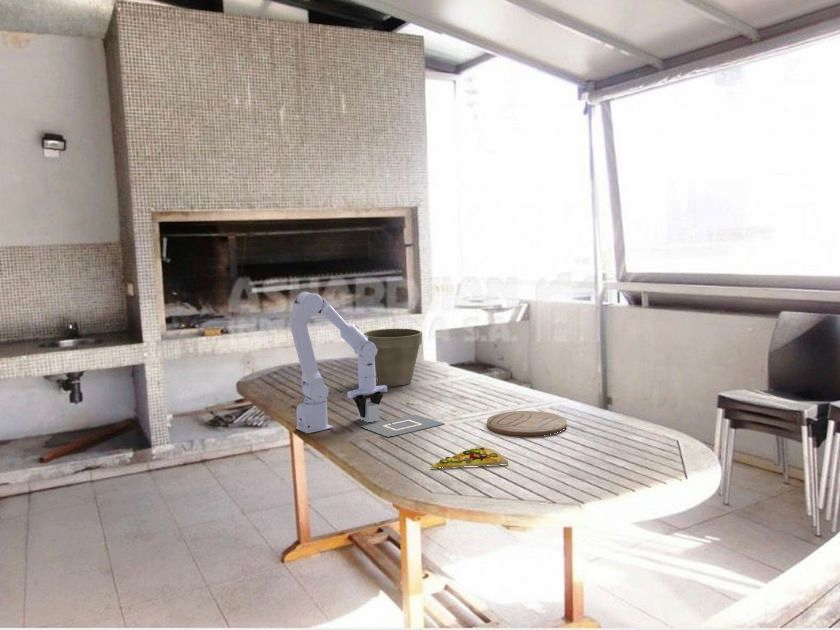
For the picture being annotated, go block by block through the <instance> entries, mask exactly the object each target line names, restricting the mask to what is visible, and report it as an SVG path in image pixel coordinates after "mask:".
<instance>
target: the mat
mask: <svg viewBox="0 0 840 630" xmlns="http://www.w3.org/2000/svg"><path fill="white" fill-rule="evenodd" d="M391 420H393V421H391ZM390 421H391V423H392V424H393V425H392V426H390V425H391V423H390ZM444 425H445V423H444V422H441V421H438V420H434V419H432V418H429V417H425V416H422V415H419V414H411V415H407V416H402V417H397V418H393V419H388V420H384V421H377V422H373V423H368V424H365V425H362V426H360V428H361V427H363V428H365V429H364V430H366V427H367V429H368V430H367V431H369V430H371V431H373V432H372V433H374V432H376V433H378V434H377V435H379V434H381V435H380V436H382V435H385V436H387V435H388V436H390V435H389V434H391V435H393V436H394V437H397V436H396V435H398V436H402V434H403V435H406V433H407V434H410V433H414V431H415V432H418V431H423V430H427V429H431V428H436V427H439V426H444ZM391 427H393V428H391ZM363 428H362V429H363ZM372 428H373V429H372ZM390 428H391V429H392V430H393V431H391V430H390ZM387 429H388V430H387ZM384 430H385V431H384ZM371 431H370V432H371ZM389 431H391V433H390V432H389ZM376 433H375V434H376ZM388 436H387V437H388ZM387 437H386V438H387Z"/></svg>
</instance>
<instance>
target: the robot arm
mask: <svg viewBox="0 0 840 630" xmlns="http://www.w3.org/2000/svg"><path fill="white" fill-rule="evenodd" d="M317 314H319V315H322V316H324V317H325V318H326V319H327V320H328V321H329V322H330V323H331V324H333V325H334V326H335V327H336V328H337V329H338V330H339V331H340V332H339V333H340V335H339V336H340V338H342V339H343V340H344V341H345V342H346V343H347V344H348V345H349V346H350V348H352V349H353V352H354V353H355V354H356V355H357V371H358V372H357V373H358V375H357V377H358V388H356V389H353V390H350V391H347V392H346V393H347V394H346V395H347V398H348V399H352V400H353V401H354V403H355V405H356V407H357V411H358V410H359V413H360V417H363V418H364V417H365V414H366V413H365V405H366V401H368V400H367V398H366V397H365V395H369V396H368V397H369V399H370V400H369V401H370V402H372V403H375V404H378V405H379V406H380V403H381V401H382V399H383V396H384V394H383V393H387V392H388V386H385V385H379V386H376V375H375V356H376V354H377V351H378V349H377V348H376V345H375V344H374V343H373V342H371V341H368V336H366V335H364V333H363V332H362V331H361V330H360V327H359V326H358V325H357V324H354V323H348V322H347V321H346V320H344V318H343V317H342V316H341V315H340V314H339V313H338V311H336V309H335V308H334V307H333V305H331V304H330V303H329V302H328V301H327V300H326V299H325V298H322V296H321V295H320V294H318V293H317V292H309V291H301V292H300V293H298V295H297V296H296V297H295V298H294V300H293V301H292V308H291V312H290V315H289V319H288V322H289V327H290V332H291V334H292V335H291V336H292V338H293V341H294V347H295V350H296V355H297V358H298V362H299V365H300V370H301V373H302V374H301V392H302V394H303V396H304V398H303V399H304V400H303V402H302V403H300V404H297V406H296V414H295V415H296V430H299V431H301V432H303V433H305V434H311V433H315V432H320V431H325V430H330V429H333V428H334V426H333V425H331V424H328V423H329V421H328V420H329V419H328V401H327V400H328V399H327V398H328V396H329V393H330V391H329V387H328V386H327V385H326V384H325V382H324V379H323V377H322V375H321V373H320V371H319V367H318V365H317V364H318V363H317V360H316V357H315V351H314V349H313V345H312V341H311V337H310V333H309V329H308V325H307V324H308V323H309V322H310V320H311V319H312V318H313V316H315V315H317Z"/></svg>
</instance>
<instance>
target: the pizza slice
mask: <svg viewBox="0 0 840 630" xmlns="http://www.w3.org/2000/svg"><path fill="white" fill-rule="evenodd" d="M508 463H509V460H508V459H507V458H506V457H505V456H504V455H503V454H502V453H500V452H499V451H497V450H495V449H493V448H489V447H486V446H481V445H479V446H476V447H475V448H470V449H467V450H463V451H461V452H459V453H457V454H455V455H453V456H451V457H450V456H446V457H445V458H440V460H439V461H438V462H436V463H435V464H434V465H432V466H430V469H431V468H439V467H441V468H442V467H443V468H453V467H464V466H487V465H500V464H508ZM453 469H454V468H453Z"/></svg>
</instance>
